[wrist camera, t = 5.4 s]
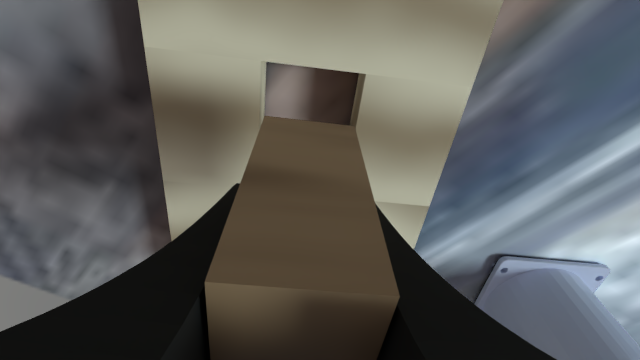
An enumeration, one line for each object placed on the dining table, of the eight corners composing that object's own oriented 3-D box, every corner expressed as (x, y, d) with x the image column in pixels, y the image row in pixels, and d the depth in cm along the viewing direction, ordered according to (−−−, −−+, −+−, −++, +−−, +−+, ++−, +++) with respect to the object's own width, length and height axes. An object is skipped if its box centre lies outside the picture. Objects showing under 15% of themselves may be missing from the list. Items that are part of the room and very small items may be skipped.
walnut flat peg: (333, 239, 14) (347, 440, 8) (259, 232, 14) (216, 435, 8) (354, 125, 11) (399, 296, 5) (264, 115, 11) (204, 282, 5)
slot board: (383, 296, 25) (388, 320, 23) (190, 282, 24) (180, 306, 22) (503, -69, 14) (530, -75, 12) (144, -126, 12) (117, -142, 11)
